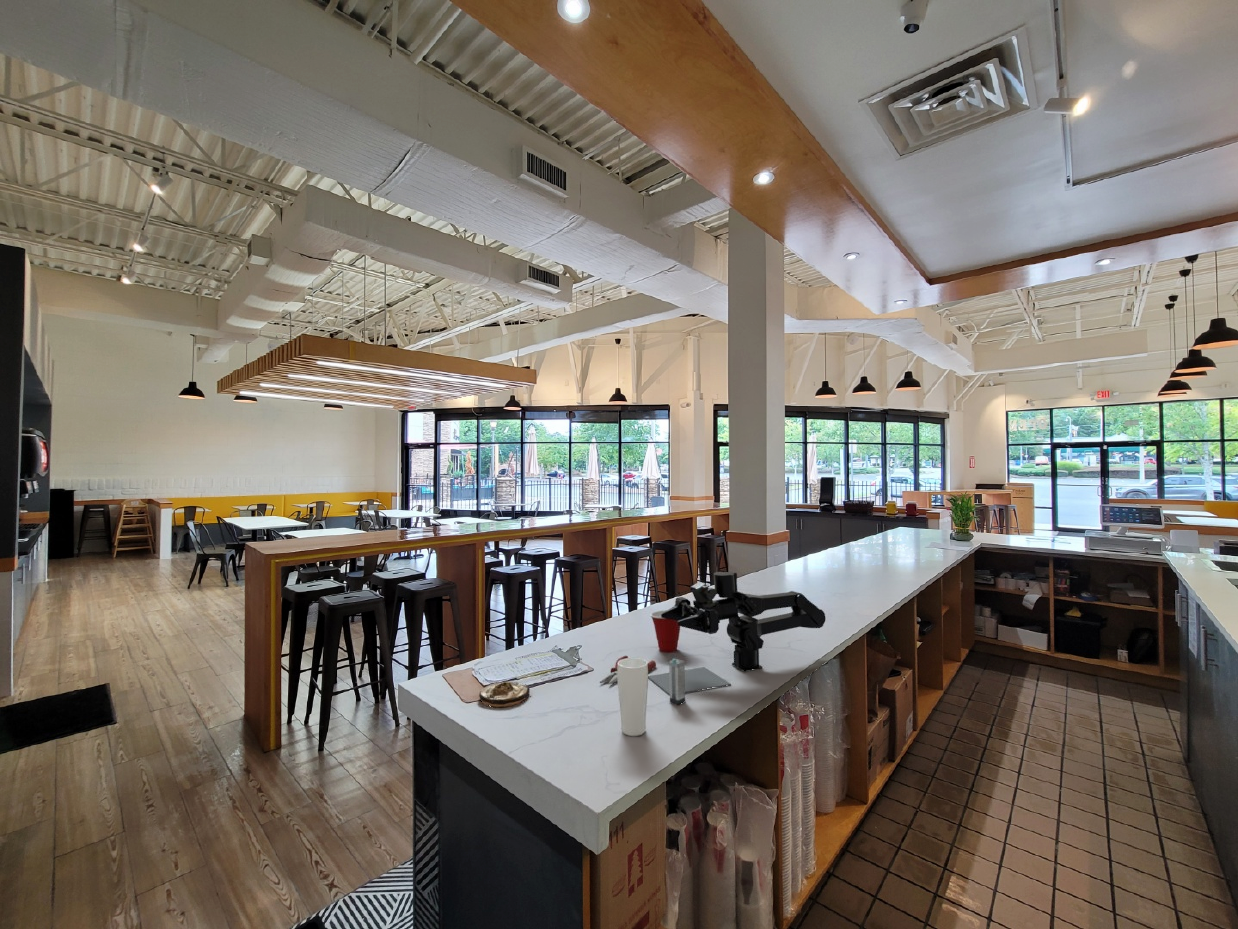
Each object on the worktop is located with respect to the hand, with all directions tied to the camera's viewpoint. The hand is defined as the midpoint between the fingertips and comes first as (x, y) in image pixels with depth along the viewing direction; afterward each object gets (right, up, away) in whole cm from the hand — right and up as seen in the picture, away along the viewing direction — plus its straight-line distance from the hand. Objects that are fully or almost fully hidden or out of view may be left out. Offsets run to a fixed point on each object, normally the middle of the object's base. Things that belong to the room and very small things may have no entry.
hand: (669, 619), depth 148 cm
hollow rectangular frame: (+1, -16, -14) cm, 22 cm away
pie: (-43, -18, -10) cm, 47 cm away
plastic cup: (+2, -18, +27) cm, 32 cm away
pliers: (-13, -18, +7) cm, 23 cm away
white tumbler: (-11, -16, -30) cm, 35 cm away
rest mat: (+5, -17, -1) cm, 17 cm away
